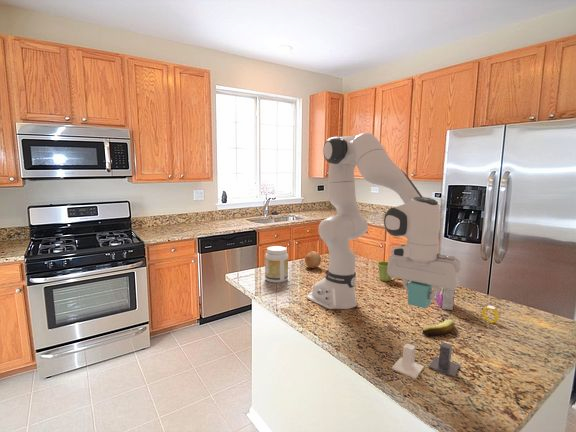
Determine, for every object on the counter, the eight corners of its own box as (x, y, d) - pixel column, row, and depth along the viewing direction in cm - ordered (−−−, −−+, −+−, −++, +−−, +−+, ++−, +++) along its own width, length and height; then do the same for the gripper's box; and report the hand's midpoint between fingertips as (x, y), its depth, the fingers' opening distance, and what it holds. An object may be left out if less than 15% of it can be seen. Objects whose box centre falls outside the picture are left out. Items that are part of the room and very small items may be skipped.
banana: (447, 364, 99) (448, 352, 99) (378, 327, 122) (379, 317, 121) (501, 334, 118) (502, 324, 118) (433, 307, 141) (434, 299, 140)
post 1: (391, 368, 95) (393, 346, 94) (400, 358, 101) (402, 337, 100) (415, 379, 91) (417, 356, 90) (423, 367, 96) (425, 346, 95)
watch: (498, 324, 125) (501, 310, 124) (493, 325, 125) (496, 311, 123) (485, 316, 131) (487, 303, 130) (479, 317, 130) (482, 304, 129)
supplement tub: (280, 274, 179) (281, 244, 177) (292, 280, 169) (293, 249, 167) (261, 277, 173) (261, 246, 170) (271, 284, 163) (272, 252, 160)
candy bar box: (434, 299, 148) (437, 264, 146) (446, 300, 147) (449, 265, 145) (440, 309, 137) (444, 272, 135) (453, 310, 136) (457, 273, 134)
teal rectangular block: (407, 304, 98) (408, 283, 97) (414, 299, 102) (414, 278, 101) (425, 308, 94) (426, 286, 94) (431, 303, 98) (432, 282, 98)
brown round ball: (316, 271, 186) (316, 254, 184) (301, 268, 191) (301, 251, 190) (323, 267, 194) (324, 251, 192) (309, 264, 199) (309, 248, 198)
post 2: (428, 367, 96) (430, 345, 95) (435, 357, 102) (437, 336, 101) (453, 377, 92) (456, 354, 91) (459, 366, 97) (462, 344, 96)
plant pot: (396, 278, 175) (397, 263, 174) (391, 283, 167) (392, 267, 166) (379, 275, 180) (380, 260, 179) (374, 280, 172) (375, 264, 171)
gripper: (463, 255, 92) (460, 302, 93) (394, 245, 105) (392, 286, 107) (457, 259, 87) (454, 308, 89) (385, 248, 100) (384, 291, 102)
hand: (420, 296), depth 98 cm, fingers closed on teal rectangular block, 5 cm apart
